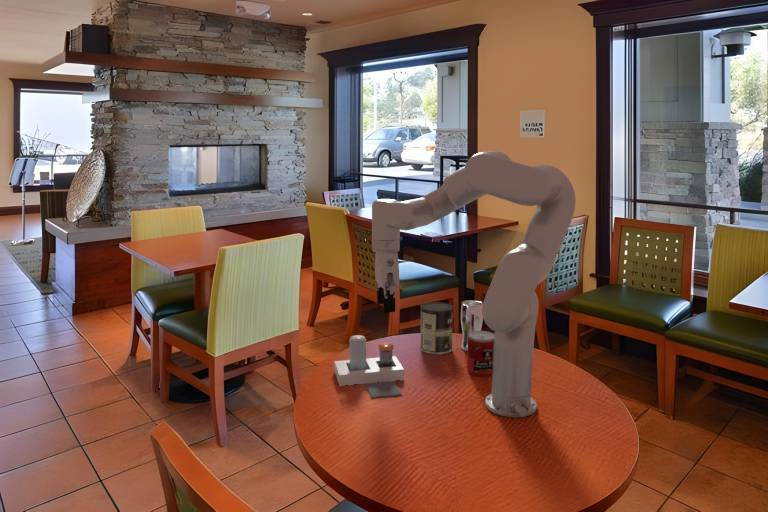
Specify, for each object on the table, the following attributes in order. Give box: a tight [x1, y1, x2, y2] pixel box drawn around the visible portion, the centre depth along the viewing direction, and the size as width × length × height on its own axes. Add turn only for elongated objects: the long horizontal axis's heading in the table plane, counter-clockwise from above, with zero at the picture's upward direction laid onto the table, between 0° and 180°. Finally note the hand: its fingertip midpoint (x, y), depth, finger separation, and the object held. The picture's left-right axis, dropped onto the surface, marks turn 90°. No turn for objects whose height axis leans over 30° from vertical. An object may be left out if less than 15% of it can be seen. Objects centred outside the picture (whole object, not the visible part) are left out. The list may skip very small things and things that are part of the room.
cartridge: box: [349, 334, 367, 371], centre depth 158 cm, size 5×5×12 cm
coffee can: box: [419, 301, 454, 355], centre depth 179 cm, size 10×10×14 cm
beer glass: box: [460, 299, 484, 352], centre depth 179 cm, size 7×7×15 cm
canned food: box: [466, 330, 495, 378], centre depth 161 cm, size 8×8×11 cm
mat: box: [365, 381, 402, 399], centre depth 150 cm, size 8×8×1 cm
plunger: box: [378, 342, 394, 368], centre depth 159 cm, size 4×4×6 cm
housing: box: [334, 355, 405, 387], centre depth 159 cm, size 10×18×3 cm, turn 103°
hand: (386, 307), depth 157 cm, fingers open, 7 cm apart
